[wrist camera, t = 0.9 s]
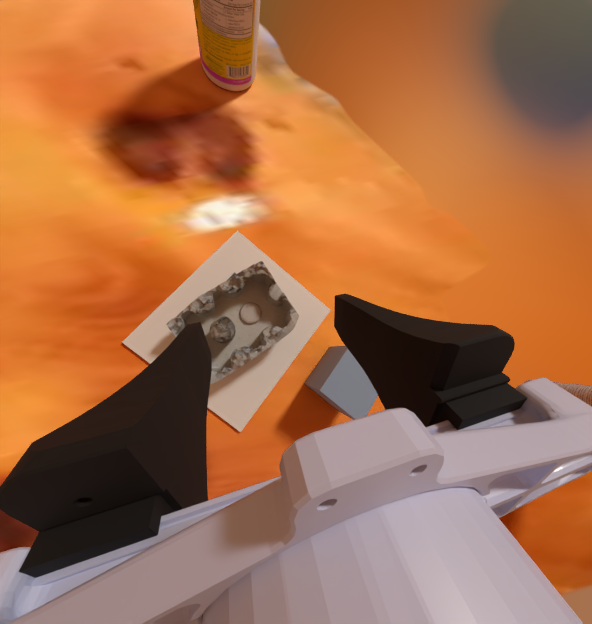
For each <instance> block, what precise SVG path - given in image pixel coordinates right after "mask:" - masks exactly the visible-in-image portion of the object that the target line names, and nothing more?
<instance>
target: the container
mask: <svg viewBox="0 0 592 624" xmlns="http://www.w3.org/2000/svg"><path fill="white" fill-rule="evenodd" d="M529 381H532V380H528V381H526V382H529ZM526 382H524V383H526ZM553 383H554V384H556V385H558V386H559V387H561V388H562V389H564V390H566V391H567V392H569V393H570V394H572V395H574V396H575V397H577V398H578V399H580V400H582V401H583V402H585V403H586V404H588V405H590V406H591V407H592V386H588V385H578V384H566V383H555V382H553Z"/></svg>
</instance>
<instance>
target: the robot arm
mask: <svg viewBox="0 0 592 624" xmlns="http://www.w3.org/2000/svg"><path fill="white" fill-rule="evenodd" d="M334 326H335V328H336V330H337V332H338V334H339V336H340V338H341V340H342V341H343V343H344V344H345V345H346V347H347V348H348V350H349V351H350V352H351V354H352V355H353V356H354V358H355V359H356V360H357V362H358V363H359V365H360V366H361V367H362V369H363V370H364V372H365V373H366V375H367V376H368V378H369V380H370V382H371V383H372V385H373V387H374V389H375V390H376V392H377V394H378V396H379V398H380V400H381V402H382V403H383V405H384V407H385V409H386V410H384V411H380V412H377V413H374V414H371V415H367V416H364V417H361V418H358V419H354V420H351V421H348V422H345V423H341V424H338V425H335V426H332V427H328V428H325V429H322V430H319V431H315V432H312V433H310V434H308V435H306V436H304V437H302V438H300V439H298V440H296V441H295V442H294V443H293V444H292V445H291V446H290V447H288V448H287V449H286V450H285V452H284V453H283V455H282V458H281V462H280V472H281V476H280V477H277V478H274V479H271V480H268V481H265V482H262V483H259V484H256V485H253V486H250V487H247V488H244V489H241V490H238V491H235V492H232V493H229V494H226V495H223V496H220V497H217V498H214V499H211V500H208V495H207V465H206V416H207V405H208V397H209V389H210V381H211V372H212V359H211V351H210V348H209V345H208V342H207V339H206V337H205V334H204V331H203V328H202V325H201V322H197V323H192V324H188V325H187V326H186V327H185V328H184V329H183V330H182V331H181V332H180V333H179V334H178V336H177V337H176V338H175V339H174V340H173V341H172V342H171V343H170V345H169V346H168V347H167V348H166V349H165V350H164V351H163V352H162V353H161V354H160V355H159V356H158V357H157V358H156V359H155V360H154V361H153V362H152V363H151V364H150V365H149V366H148V367H147V368H146V369H144V370H143V371H142V372H141V373H140V374H139V375H137V376H136V377H135V378H134V379H133V380H131V381H130V382H129V383H127V384H126V385H125V386H123V387H122V388H121V389H119V390H118V391H117V392H115V393H114V394H113V395H111V396H110V397H108V398H107V399H105V400H104V401H102V402H101V403H99V404H98V405H96V406H95V407H93V408H92V409H90V410H89V411H87V412H85V413H84V414H82V415H81V416H79V417H77V418H75V419H74V420H72V421H70V422H69V423H67V424H65V425H63V426H62V427H60V428H58V429H56V430H54V431H53V432H51V433H49V434H47V435H45V436H44V437H42V438H40V439H38V440H36V441H34V442H33V443H32V444H31V445H30V446H29V448H28V449H27V451H26V452H25V453H24V455H23V456H22V457H21V459H20V460H19V462H18V463H17V464H16V466H15V467H14V469H13V470H12V471H11V473H10V474H9V475H8V477H7V478H6V480H5V481H4V482H3V484H2V485H1V486H0V509H1V510H2V511H4V512H5V513H6V514H8V515H9V516H11V517H13V518H15V519H17V520H19V521H21V522H22V523H24V524H26V525H28V526H30V527H32V528H34V529H36V530H37V531H40V532H39V534H38V536H37V538H36V539H35V541H34V543H33V545H32V547H31V548H30V547H20V548H15V549H11V550H8V551H5V552H1V553H0V624H583V622H582V621H581V620H580V619H579V617H578V616H577V615H576V614H575V613H574V612H573V610H572V609H571V608H570V606H569V605H568V604H567V603H566V601H565V600H564V599H563V598H562V596H561V595H560V594H559V593H558V591H557V590H556V589H555V588H554V586H553V585H552V584H551V583H550V581H549V580H548V579H547V578H546V576H545V575H544V574H543V573H542V571H541V570H540V569H539V568H538V567H537V565H536V564H535V563H534V562H533V560H532V559H531V558H530V557H529V555H528V554H527V553H526V552H525V550H524V549H523V548H522V547H521V545H520V544H519V543H518V542H517V540H516V539H515V538H514V537H513V535H512V534H511V533H510V532H509V530H508V529H507V528H506V527H505V525H504V524H503V523H502V522H501V520H500V519H499V518H501V517H503V516H504V515H506V514H508V513H510V512H512V511H514V510H516V509H518V508H519V507H521V506H523V505H525V504H527V503H529V502H531V501H533V500H535V499H536V498H538V497H540V496H542V495H544V494H546V493H548V492H550V491H552V490H554V489H556V488H558V487H560V486H562V485H564V484H566V483H568V482H570V481H573V480H575V479H577V478H579V477H581V476H583V475H586V474H587V473H589V472H590V471H591V470H592V407H591V406H590V405H588V404H586V403H585V402H583V401H582V400H580V399H578V398H577V397H575V396H574V395H572V394H570V393H569V392H567V391H566V390H564V389H562V388H561V387H559V386H558V385H556V384H554V383H553V382H551V381H549V380H548V379H546V378H538V379H535V380H532V381H529V382H526V383H523V384H521V385H519V386H518V387H517V388H513V387H512V386H510V385H509V384H508V382H509V381H510V379H509V377H508V376H506V375H505V374H503V373H502V371H503V369H504V367H505V365H506V364H507V362H508V360H509V358H510V357H511V355H512V352H513V350H514V339H513V337H512V336H511V335H510V334H508V333H506V332H504V331H503V330H501V329H499V328H497V327H495V326H493V325H477V324H476V325H475V324H460V323H450V322H442V321H435V320H429V319H423V318H418V317H414V316H410V315H406V314H402V313H398V312H395V311H392V310H389V309H386V308H383V307H380V306H377V305H374V304H372V303H369V302H367V301H364V300H362V299H359V298H356V297H354V296H351V295H348V294H341V295H336V296H335V318H334Z"/></svg>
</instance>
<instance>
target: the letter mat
mask: <svg viewBox="0 0 592 624" xmlns="http://www.w3.org/2000/svg"><path fill="white" fill-rule="evenodd" d="M260 261H263V263H264V265H265V266H266V268H267V269H268V271H269V272H270V273H271V275H272V276H273V278H274V280H275V282H276V283H277V285H278V286H279V288H280V289H281V291H282V292H283V293H284V294H285V296H286V297H287V299H288V300H289V302H290V303H291V305H292V306H293V307H294V309H295V310H296V312H297V313H298V315H299V318H298V320H297V323H296V325H295V327H294V329H293V330H292V331H291V332H290V333H289V334H288V335H286V336H285V337H284V338H282V339H281V340H280V341H278V342H277V343H275V344H274V345H272V346H271V347H269V348H268V349H266V350H265V351H263V352H262V353H261V354H259V355H258V356H256V357H255V358H253V359H252V360H250V361H249V362H247V363H246V364H244V365H243V366H241V367H240V368H238V369H237V370H235V371H234V372H232V373H231V374H229V375H228V376H226V377H224V378H223V379H221V380H219V381H217V382H215V383H213V384H210V389H209V397H208V405H207V407H208V408H209V409H210V410H212V411H213V412H214V413H216V414H217V415H218V416H220V417H221V418H222V419H223V420H225V421H226V422H227V423H229V424H230V425H231V426H233V427H234V428H235V429H237V430H238V431H239V432H241V431H242V429H243V428H244V427H245V425H246V424H247V423H248V421H249V420H250V419H251V417H252V416H253V415H254V413H255V412H256V410H257V409H258V408H259V406H260V405H261V404H262V402H263V401H264V400H265V398H266V397H267V396H268V394H269V393H270V392H271V390H272V389H273V387H274V386H275V385H276V383H277V382H278V381H279V379H280V378H281V377H282V375H283V374H284V373H285V371H286V370H287V369H288V367H289V366H290V364H291V363H292V362H293V360H294V359H295V358H296V356H297V355H298V354H299V352H300V351H301V350H302V348H303V347H304V346H305V344H306V343H307V341H308V340H309V339H310V337H311V336H312V335H313V333H314V332H315V331H316V329H317V328H318V327H319V325H320V324H321V323H322V321H323V320H324V318H325V317H326V316H327V314H328V313H329V312H330V309H329V308H328V307H327V306H326V305H324V304H323V303H322V302H321V301H320V300H318V299H317V298H316V297H315V296H314V295H313V294H311V293H310V292H309V291H308V290H307V289H306V288H304V287H303V286H302V285H301V284H300V283H299V282H297V281H296V280H295V279H294V278H293V277H291V276H290V275H289V274H288V273H287V272H286V271H284V270H283V269H282V268H281V267H280V266H279V265H277V264H276V263H275V262H274V261H273V260H272V259H270V258H269V257H268V256H267V255H266V254H264V253H263V252H262V251H261V250H260V249H259V248H257V247H256V246H255V245H254V244H253V243H252V242H250V241H249V240H248V239H247V238H246V237H245V236H243V235H242V234H241V233H240V232H239V231H236V232H235V233H234V234H233V235H232V236H231V237H230V238H229V239H228V240H227V241H226V242H225V243H224V244H223V245H222V246H221V247H220V248H219V249H218V250H217V251H216V252H215V253H214V254H213V255H212V256H211V257H210V258H208V259H207V260H206V261H205V262H204V263H203V264H202V265H201V266H200V267H199V268H198V269H197V270H196V271H195V272H194V273H193V274H192V275H191V276H190V277H189V278H188V279H187V280H186V281H185V282H184V283H183V284H182V285H181V286H180V287H179V288H177V289H176V290H175V291H174V292H173V293H172V294H171V295H170V296H169V297H168V298H167V299H166V300H165V301H164V302H163V303H162V304H161V305H160V306H159V307H158V308H157V309H156V310H155V311H154V312H153V313H152V314H151V315H150V316H149V317H147V318H146V319H145V320H144V321H143V322H142V323H141V324H140V325H139V326H138V327H137V328H136V329H135V330H134V331H133V332H132V333H131V334H130V335H129V336H128V337H127V338H126V339H125V340H124V341H123V342H122V343H123V344H125V345H126V346H127V347H129V348H130V349H131V350H133V351H134V352H135V353H136V354H138V355H139V356H140V357H142V358H143V359H144V360H146V361H147V362H148V363H150V364H151V363H152V362H153V361H154V360H155V359H156V358H157V357H158V356H159V355H160V354H161V353H162V352H163V351H164V350H165V349H166V348H167V347H168V346H169V345H170V343H171V342H172V341H173V340H174V339H175V336H174V335H173V333H172V332H171V330H170V329H169V328H168V326H167V325H166V324H167V323H168V322H169V321H170V320H171V319H173V318H175V317H176V316H177V315H178V314H179V313H180V312H181V311H183V310H184V309H185V308H186V307H187V306H188V305H189V304H191V303H192V302H193V301H194V300H195V299H197V298H198V297H199V296H201V295H202V294H204V293H206V292H208V291H210V290H211V289H213V288H215V287H217V286H218V285H219V284H221V283H223V282H225V281H227V280H229V279H231V278H233V277H234V276H235V275H236V274H238V273H239V272H241V271H242V270H244V269H247V268H248V267H250V266H252V265H253V264H256V263H258V262H260Z"/></svg>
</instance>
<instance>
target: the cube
mask: <svg viewBox="0 0 592 624" xmlns="http://www.w3.org/2000/svg"><path fill="white" fill-rule="evenodd" d="M304 384H306V385H307V386H308V387H309V388H311V389H312V390H313V391H314V392H316V393H317V394H318V395H319V396H320V397H322V398H323V399H324V400H325V401H327V402H328V403H329V404H330V405H332V406H333V407H334V408H335V409H337V410H338V411H339V412H341V413H343V414H345V415H346V416H348V417H350V418H351V419H353V420H354V419H358V418H361V417H364V416H367V414H368V412H369V410H370V409H371V407H372V405H373V403H374V402H375V400H376V398H377V396H378V394H377V392H376V390H375V389H374V387H373V385H372V383H371V382H370V380H369V378H368V376H367V375H366V373H365V372H364V370H363V369H362V367H361V366H360V365H359V363H358V362H357V360H356V359H355V358H354V356H353V355H352V354H351V352H350V351H349V350H348V348H347V347H346V346H336V347H329V348H328V350H327V351H326V353H325V354H324V355H323V357H322V358H321V360H320V361H319V363H318V364H317V365H316V367H315V368H314V370H313V371H312V373H311V374H310V375H309V377H308V378H307V380H306V381H305V383H304Z"/></svg>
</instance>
